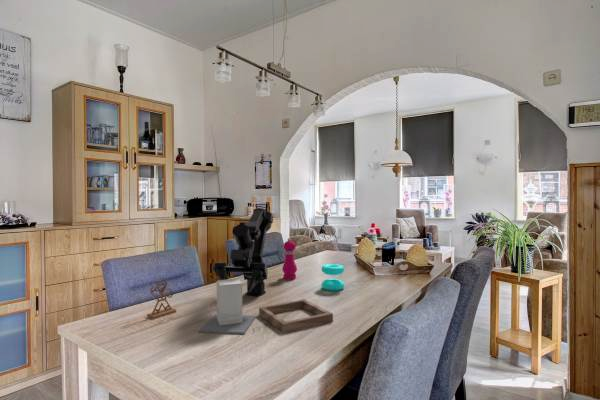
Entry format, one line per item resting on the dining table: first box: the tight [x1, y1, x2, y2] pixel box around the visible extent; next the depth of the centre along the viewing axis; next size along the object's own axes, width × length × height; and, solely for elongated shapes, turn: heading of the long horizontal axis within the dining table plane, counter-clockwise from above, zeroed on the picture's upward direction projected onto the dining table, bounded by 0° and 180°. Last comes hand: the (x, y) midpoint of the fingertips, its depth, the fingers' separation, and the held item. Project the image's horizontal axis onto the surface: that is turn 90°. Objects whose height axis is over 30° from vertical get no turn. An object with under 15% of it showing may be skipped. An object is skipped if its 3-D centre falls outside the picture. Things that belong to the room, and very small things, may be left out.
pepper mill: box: [281, 237, 298, 280], centre depth 169 cm, size 7×7×20 cm
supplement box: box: [216, 278, 243, 325], centre depth 110 cm, size 7×7×13 cm
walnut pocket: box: [258, 298, 334, 334], centre depth 114 cm, size 18×18×2 cm
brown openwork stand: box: [146, 279, 177, 320], centre depth 118 cm, size 9×4×12 cm, turn 143°
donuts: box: [321, 263, 345, 291], centre depth 151 cm, size 10×10×10 cm
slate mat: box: [198, 313, 257, 335], centre depth 108 cm, size 14×14×1 cm
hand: (235, 291), depth 116 cm, fingers open, 9 cm apart
